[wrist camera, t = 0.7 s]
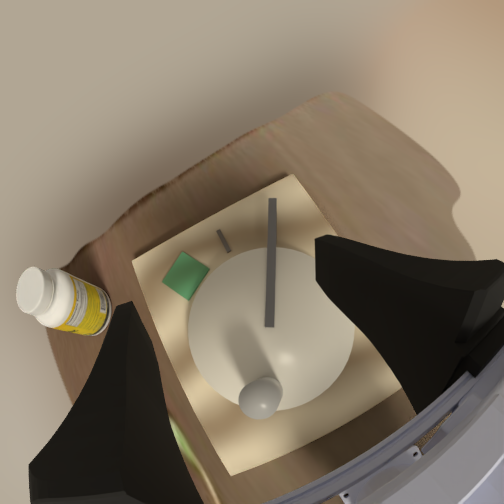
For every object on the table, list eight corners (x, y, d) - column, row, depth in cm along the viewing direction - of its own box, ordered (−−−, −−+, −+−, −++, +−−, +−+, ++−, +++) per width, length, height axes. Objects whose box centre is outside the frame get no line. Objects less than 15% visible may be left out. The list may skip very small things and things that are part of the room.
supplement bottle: (69, 320, 29) (4, 299, 20) (89, 279, 30) (29, 247, 21) (99, 346, 27) (31, 333, 18) (121, 302, 28) (58, 274, 19)
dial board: (414, 372, 22) (421, 373, 21) (234, 470, 21) (230, 476, 20) (293, 181, 30) (292, 172, 29) (138, 265, 30) (130, 260, 28)
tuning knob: (204, 208, 28) (183, 170, 23) (344, 205, 26) (354, 164, 21) (188, 401, 22) (155, 410, 17) (350, 408, 20) (367, 422, 15)
